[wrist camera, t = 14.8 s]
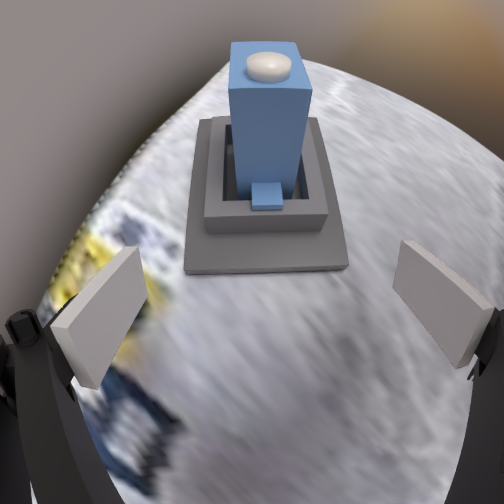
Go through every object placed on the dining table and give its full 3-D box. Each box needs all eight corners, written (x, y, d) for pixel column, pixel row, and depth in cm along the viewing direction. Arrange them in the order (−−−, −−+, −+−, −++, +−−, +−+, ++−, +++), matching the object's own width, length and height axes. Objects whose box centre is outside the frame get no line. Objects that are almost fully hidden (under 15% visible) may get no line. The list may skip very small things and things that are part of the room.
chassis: (201, 126, 27) (196, 101, 23) (315, 124, 27) (320, 99, 23) (186, 274, 21) (174, 257, 17) (345, 269, 21) (360, 251, 17)
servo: (238, 138, 24) (231, 23, 14) (281, 137, 25) (291, 24, 14) (239, 228, 21) (225, 96, 10) (292, 227, 21) (322, 97, 10)
